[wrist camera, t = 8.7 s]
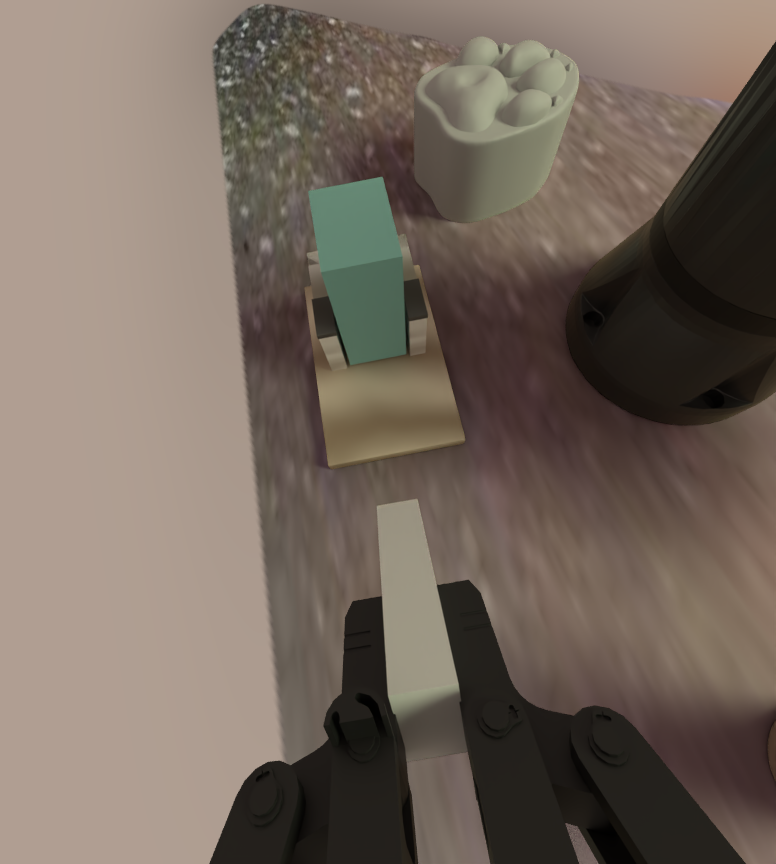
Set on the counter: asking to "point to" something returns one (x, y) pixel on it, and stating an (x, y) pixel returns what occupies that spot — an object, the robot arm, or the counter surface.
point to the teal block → (361, 267)
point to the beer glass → (772, 749)
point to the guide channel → (382, 381)
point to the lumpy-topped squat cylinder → (491, 126)
